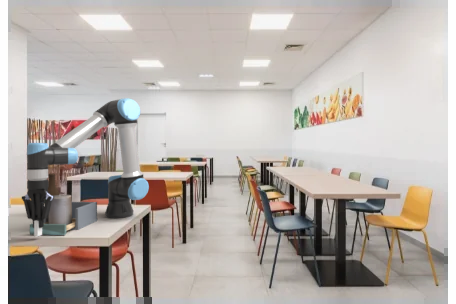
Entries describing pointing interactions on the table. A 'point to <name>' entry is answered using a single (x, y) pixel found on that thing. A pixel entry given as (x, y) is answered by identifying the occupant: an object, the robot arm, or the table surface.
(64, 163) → the robot arm
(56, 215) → the pillar candle
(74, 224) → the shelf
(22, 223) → the table surface
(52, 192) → the beer bottle
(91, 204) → the cradle
